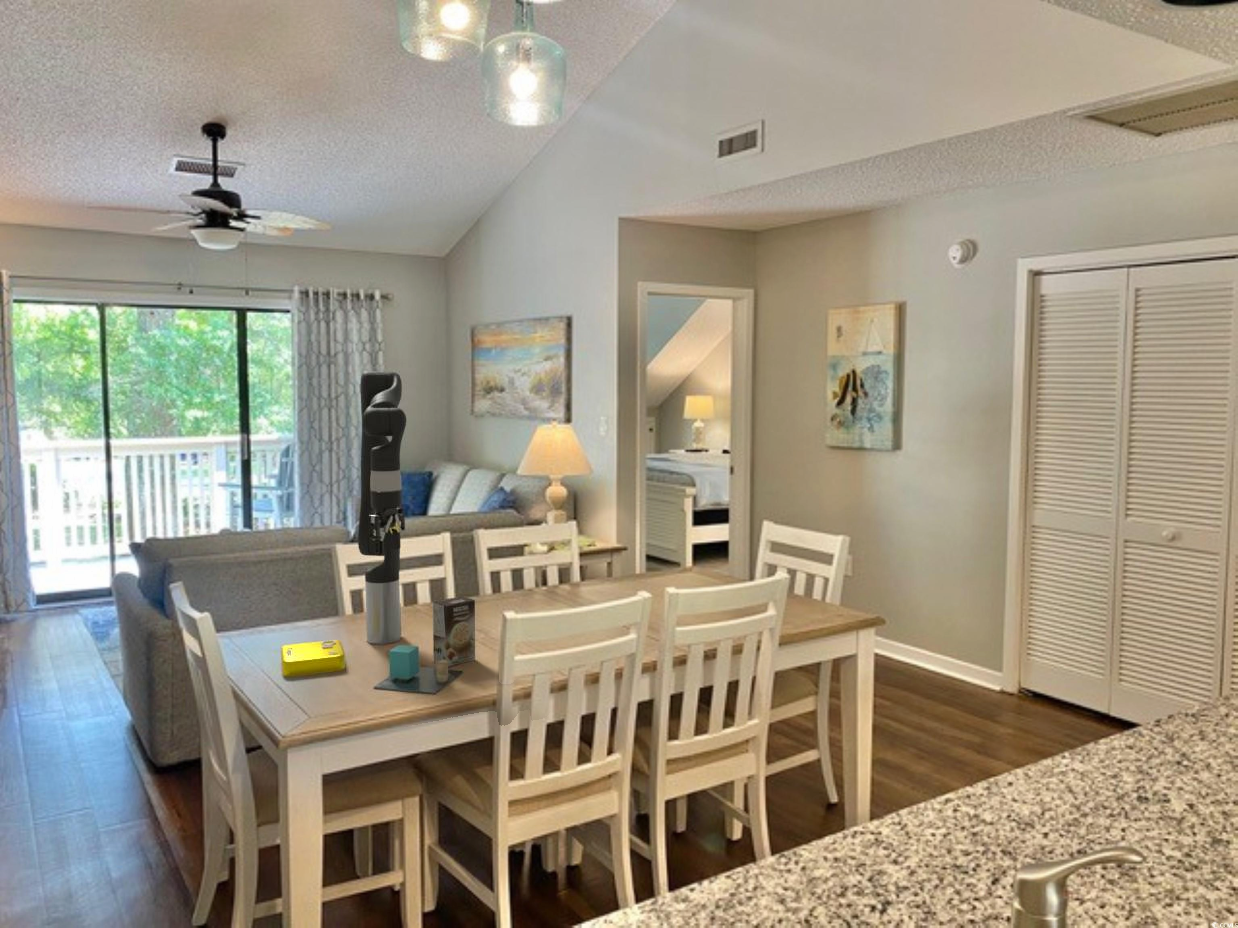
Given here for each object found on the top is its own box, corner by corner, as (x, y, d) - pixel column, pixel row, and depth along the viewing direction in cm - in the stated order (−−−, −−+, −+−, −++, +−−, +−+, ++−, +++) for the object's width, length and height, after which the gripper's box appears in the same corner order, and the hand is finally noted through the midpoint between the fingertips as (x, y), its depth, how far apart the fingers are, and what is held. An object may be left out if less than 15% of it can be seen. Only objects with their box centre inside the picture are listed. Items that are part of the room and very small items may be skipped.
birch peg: (439, 679, 223) (439, 659, 223) (449, 680, 223) (449, 660, 222) (434, 683, 221) (433, 663, 220) (445, 684, 220) (444, 664, 220)
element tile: (281, 660, 239) (280, 643, 239) (340, 654, 245) (340, 636, 244) (282, 679, 225) (282, 660, 225) (345, 671, 231) (345, 653, 230)
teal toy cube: (400, 670, 227) (399, 644, 227) (419, 672, 226) (418, 646, 225) (389, 677, 222) (389, 650, 222) (409, 679, 221) (408, 652, 220)
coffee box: (446, 667, 233) (445, 606, 231) (432, 661, 237) (431, 601, 236) (476, 659, 239) (475, 599, 237) (462, 654, 244) (461, 595, 242)
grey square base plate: (405, 667, 233) (404, 640, 232) (463, 672, 229) (462, 645, 228) (373, 688, 218) (372, 659, 217) (435, 694, 214) (434, 665, 213)
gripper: (386, 484, 235) (388, 546, 236) (357, 491, 221) (359, 557, 223) (413, 485, 233) (414, 547, 235) (385, 492, 219) (387, 558, 221)
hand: (387, 552), depth 229 cm, fingers open, 8 cm apart
